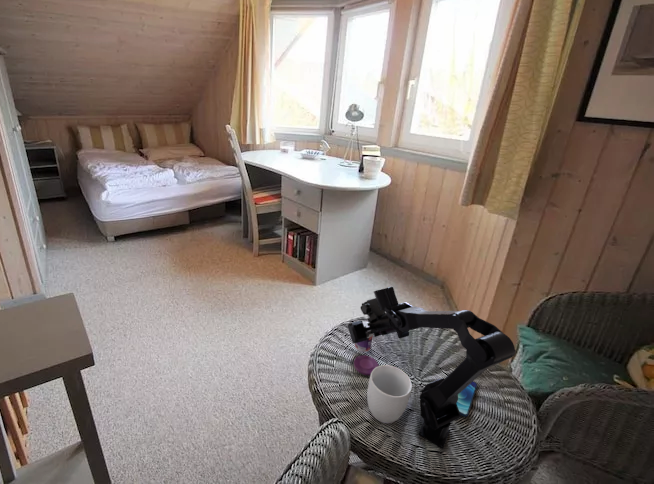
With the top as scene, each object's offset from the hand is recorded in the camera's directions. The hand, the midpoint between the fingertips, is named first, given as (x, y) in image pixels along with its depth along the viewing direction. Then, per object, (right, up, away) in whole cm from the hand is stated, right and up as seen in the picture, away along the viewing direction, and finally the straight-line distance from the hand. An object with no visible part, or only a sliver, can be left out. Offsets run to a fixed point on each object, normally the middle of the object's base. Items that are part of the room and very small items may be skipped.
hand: (362, 329), depth 122 cm
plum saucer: (0, -11, -4) cm, 12 cm away
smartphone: (+26, -16, -13) cm, 34 cm away
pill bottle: (0, -7, +2) cm, 7 cm away
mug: (+2, -18, -20) cm, 27 cm away
